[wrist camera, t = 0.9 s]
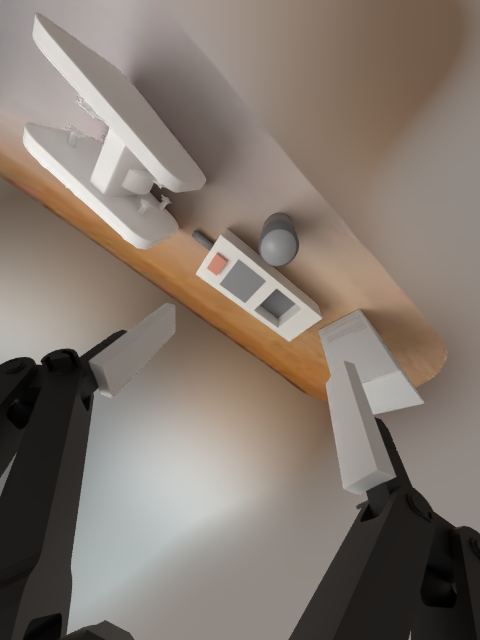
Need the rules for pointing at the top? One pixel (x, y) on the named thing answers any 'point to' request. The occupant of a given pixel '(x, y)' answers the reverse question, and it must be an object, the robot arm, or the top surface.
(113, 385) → the robot arm
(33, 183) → the top surface
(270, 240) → the plug
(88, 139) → the cable organizer
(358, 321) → the supplement box
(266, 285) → the power strip
